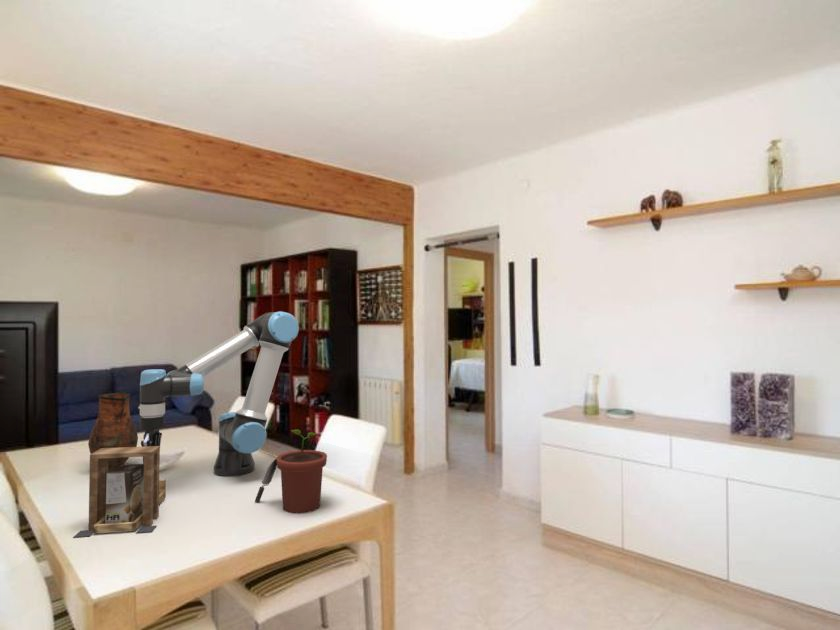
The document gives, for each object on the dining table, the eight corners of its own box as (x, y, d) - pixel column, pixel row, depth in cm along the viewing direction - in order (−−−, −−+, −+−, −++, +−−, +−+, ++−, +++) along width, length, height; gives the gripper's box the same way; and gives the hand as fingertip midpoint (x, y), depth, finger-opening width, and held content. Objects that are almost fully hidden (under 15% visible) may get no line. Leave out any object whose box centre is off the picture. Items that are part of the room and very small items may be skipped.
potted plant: (286, 522, 143) (286, 436, 143) (254, 502, 159) (254, 425, 159) (337, 506, 155) (337, 428, 155) (302, 489, 171) (303, 418, 171)
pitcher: (97, 480, 180) (99, 398, 180) (77, 469, 193) (78, 393, 193) (145, 469, 193) (146, 393, 193) (123, 460, 206) (124, 389, 206)
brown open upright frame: (158, 516, 146) (159, 446, 147) (150, 526, 139) (151, 452, 140) (99, 520, 143) (101, 448, 143) (88, 530, 136) (89, 454, 137)
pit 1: (96, 530, 136) (96, 529, 136) (89, 536, 132) (89, 535, 132) (80, 531, 135) (80, 530, 135) (73, 538, 131) (73, 536, 131)
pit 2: (156, 526, 139) (156, 525, 139) (151, 532, 135) (151, 531, 135) (141, 527, 138) (141, 526, 138) (136, 533, 134) (136, 532, 134)
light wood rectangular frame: (165, 497, 161) (165, 479, 161) (135, 530, 135) (135, 508, 135) (130, 499, 159) (130, 481, 159) (93, 533, 133) (93, 511, 133)
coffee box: (128, 529, 137) (129, 472, 137) (104, 530, 136) (105, 473, 137) (143, 516, 146) (144, 463, 146) (121, 517, 146) (122, 463, 146)
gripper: (147, 412, 169) (145, 480, 168) (132, 419, 156) (130, 493, 156) (170, 412, 170) (169, 479, 170) (157, 419, 157) (156, 492, 157)
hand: (150, 486), depth 163 cm, fingers closed
